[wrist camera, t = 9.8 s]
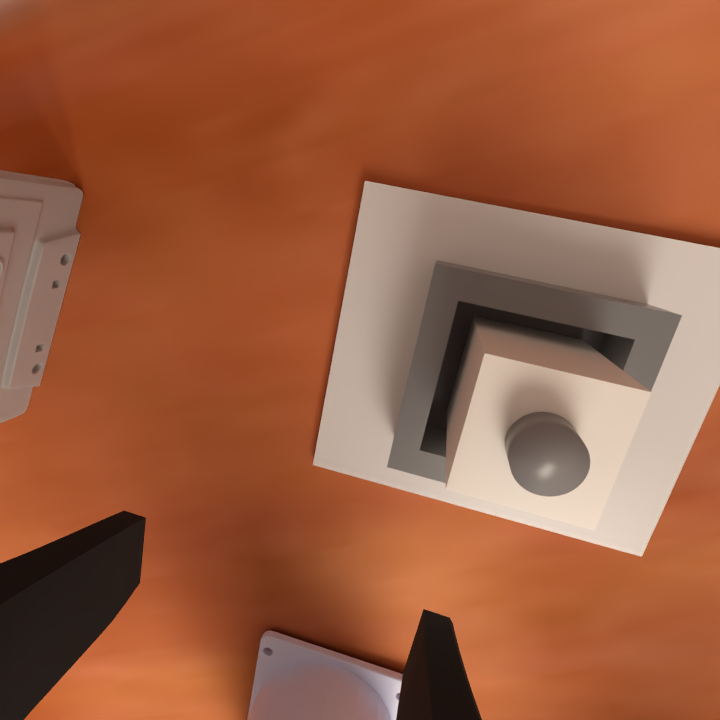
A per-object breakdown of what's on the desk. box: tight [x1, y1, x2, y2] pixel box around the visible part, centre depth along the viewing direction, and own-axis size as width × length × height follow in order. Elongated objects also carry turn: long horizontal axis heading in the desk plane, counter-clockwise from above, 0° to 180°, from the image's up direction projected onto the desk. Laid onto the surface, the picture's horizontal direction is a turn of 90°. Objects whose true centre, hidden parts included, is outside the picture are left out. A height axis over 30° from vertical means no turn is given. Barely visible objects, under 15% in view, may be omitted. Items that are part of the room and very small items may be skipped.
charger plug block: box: [446, 315, 651, 531], centre depth 14 cm, size 4×4×7 cm
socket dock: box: [313, 181, 720, 557], centre depth 16 cm, size 12×14×3 cm
